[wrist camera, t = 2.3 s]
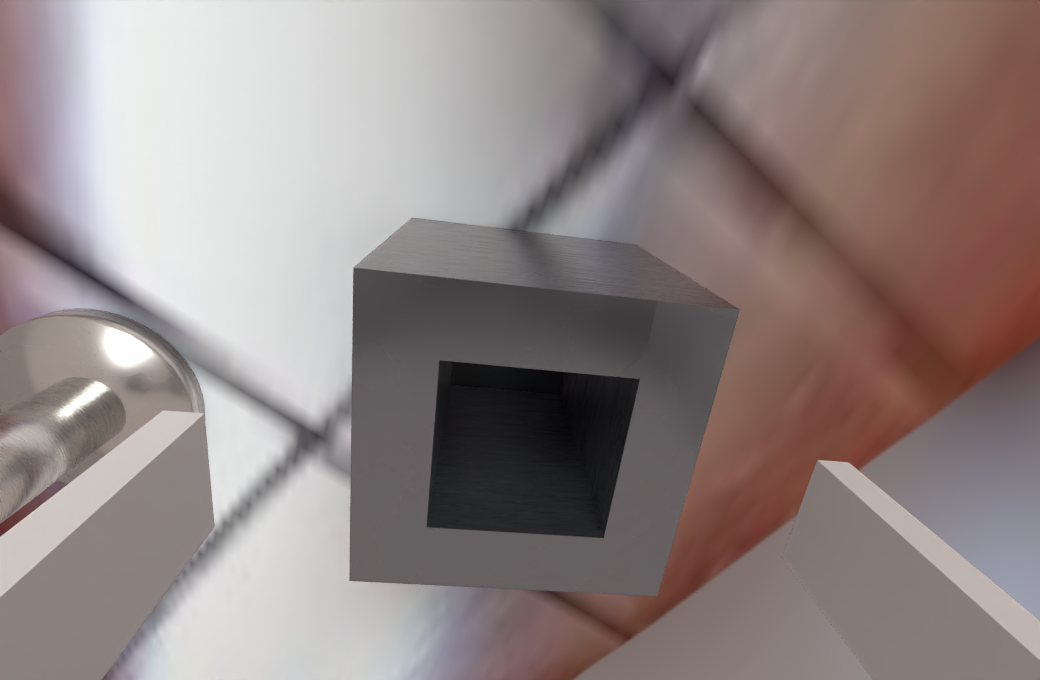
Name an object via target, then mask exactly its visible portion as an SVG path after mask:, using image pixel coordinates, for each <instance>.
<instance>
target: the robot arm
mask: <svg viewBox="0 0 1040 680" xmlns="http://www.w3.org/2000/svg"><path fill="white" fill-rule="evenodd" d="M214 527H215V526H214V515H213V504H212V493H211V482H210V471H209V460H208V449H207V437H206V426H205V415H204V413H192V412H179V411H166V410H163V411H162V412H161V413H159V414H158V415H157V416H155V417H154V418H153V419H152V420H150V421H149V422H148V423H146V424H145V425H144V426H143V427H141V428H140V429H139V430H137V431H136V432H135V433H134V434H132V435H131V436H130V437H128V438H127V439H126V440H125V441H123V442H122V443H121V444H119V445H118V446H117V447H115V448H114V449H113V450H112V451H110V452H109V453H108V454H106V455H105V456H104V457H103V458H101V459H100V460H99V461H97V462H96V463H95V464H94V465H92V466H91V467H90V468H88V469H87V470H86V471H85V472H83V473H82V474H81V475H79V476H78V477H77V478H76V479H74V480H73V481H72V482H70V483H69V484H68V485H67V486H65V487H64V488H63V489H61V490H60V491H59V492H58V493H56V494H55V495H54V496H52V497H51V498H50V499H49V500H47V501H46V502H45V503H43V504H42V505H41V506H39V507H38V508H37V509H36V510H34V511H33V512H32V513H30V514H29V515H28V516H27V517H25V518H24V519H23V520H21V521H20V522H19V523H18V524H16V525H15V526H14V527H12V528H11V529H10V530H9V531H7V532H6V533H5V534H3V535H2V536H1V537H0V680H102V678H103V677H104V676H105V674H106V673H107V672H108V670H109V669H110V667H111V666H112V665H113V663H114V662H115V661H116V659H117V658H118V657H119V655H120V654H121V653H122V651H123V650H124V649H125V647H126V646H127V644H128V643H129V642H130V640H131V639H132V638H133V636H134V635H135V634H136V632H137V631H138V630H139V628H140V627H141V626H142V624H143V623H144V621H145V620H146V619H147V617H148V616H149V615H150V613H151V612H152V611H153V609H154V608H155V607H156V605H157V604H158V603H159V601H160V600H161V598H162V597H163V596H164V594H165V593H166V592H167V590H168V589H169V588H170V586H171V585H172V584H173V582H174V581H175V579H176V578H177V577H178V575H179V574H180V573H181V571H182V570H183V569H184V567H185V566H186V565H187V563H188V562H189V561H190V559H191V558H192V556H193V555H194V554H195V552H196V551H197V550H198V548H199V547H200V546H201V544H202V543H203V542H204V540H205V539H206V538H207V536H208V535H209V533H210V532H211V531H212V529H213V528H214ZM782 558H783V560H784V561H785V563H786V564H787V565H788V567H789V568H790V569H791V571H792V572H793V573H794V575H795V576H796V577H797V579H798V580H799V581H800V583H801V584H802V585H803V587H804V588H805V589H806V591H807V592H808V593H809V595H810V596H811V597H812V599H813V600H814V601H815V603H816V604H817V605H818V607H819V608H820V609H821V610H822V612H823V613H824V615H825V616H826V617H827V619H828V620H829V621H830V623H831V624H832V625H833V627H834V628H835V629H836V631H837V632H838V633H839V635H840V636H841V637H842V639H843V640H844V641H845V643H846V644H847V645H848V647H849V648H850V649H851V651H852V652H853V653H854V655H855V656H856V657H857V659H858V660H859V661H860V663H861V664H862V665H863V667H864V668H865V669H866V671H867V672H868V673H869V675H870V676H871V678H872V679H873V680H1040V621H1039V620H1038V619H1037V618H1035V617H1034V616H1033V615H1032V614H1031V613H1030V612H1028V611H1027V610H1026V609H1025V608H1024V607H1022V606H1021V605H1020V604H1019V603H1018V602H1016V601H1015V600H1014V599H1013V598H1011V597H1010V596H1009V595H1008V594H1006V592H1004V591H1003V590H1002V589H1001V588H999V587H998V586H997V585H996V584H995V583H993V582H992V581H991V580H990V579H989V578H987V577H986V576H985V575H984V574H982V573H981V572H980V571H979V570H978V569H977V568H975V567H974V566H973V565H972V564H971V563H969V562H968V561H967V560H966V559H965V558H963V557H962V556H961V555H960V554H958V553H957V552H956V551H955V550H954V549H952V548H951V547H950V546H949V545H948V544H946V543H945V542H944V541H943V540H942V539H940V538H939V537H938V536H937V535H936V534H934V533H933V532H932V531H931V530H929V529H928V528H927V527H926V526H925V525H923V524H922V523H921V522H920V521H919V520H917V519H916V518H915V517H914V516H913V515H911V514H910V513H909V512H908V511H907V510H905V509H904V508H903V507H902V506H901V505H899V504H898V503H897V502H896V501H894V500H893V499H892V498H891V497H890V496H888V495H887V494H886V493H885V492H884V491H882V490H881V489H880V488H879V487H877V486H876V485H875V484H874V483H873V482H872V481H870V480H869V479H868V478H867V477H866V476H864V475H863V474H862V473H861V472H860V471H858V470H857V469H856V468H855V467H854V466H852V465H851V464H850V463H849V462H836V461H823V460H817V463H816V465H815V468H814V471H813V473H812V476H811V479H810V482H809V484H808V487H807V490H806V492H805V495H804V498H803V501H802V503H801V506H800V509H799V511H798V514H797V517H796V519H795V522H794V525H793V528H792V530H791V533H790V536H789V538H788V541H787V544H786V547H785V550H784V552H783V555H782Z"/></svg>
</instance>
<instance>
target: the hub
mask: <svg viewBox="0 0 1040 680" xmlns="http://www.w3.org/2000/svg"><path fill="white" fill-rule="evenodd" d="M163 410H166V411H179V412H192V413H204V401H203V396H202V392H201V389H200V386H199V383H198V381H197V379H196V377H195V375H194V373H193V371H192V370H191V368H190V367H189V365H188V364H187V362H186V361H185V360H184V358H183V357H182V356H181V355H180V354H179V352H178V351H177V350H176V349H175V348H174V347H173V346H172V345H170V344H169V343H168V342H167V341H166V340H165V339H163V338H162V337H161V336H159V335H158V334H157V333H155V332H154V331H152V330H150V329H149V328H147V327H146V326H144V325H142V324H140V323H138V322H136V321H134V320H131V319H129V318H126V317H124V316H121V315H118V314H114V313H110V312H106V311H101V310H94V309H67V310H61V311H56V312H52V313H49V314H46V315H44V316H41V317H38V318H35V319H33V320H30V321H27V322H24V323H22V324H19V325H16V326H14V327H13V328H11V329H9V330H7V331H6V332H4V333H3V334H2V335H0V523H2V522H3V521H4V520H6V519H7V518H8V517H10V516H11V515H12V514H14V513H15V512H16V511H18V510H19V509H20V508H22V507H23V506H24V505H25V504H27V503H28V502H29V501H31V500H32V499H33V498H35V497H36V496H37V495H39V494H40V493H41V492H43V491H44V490H45V489H47V488H48V487H49V486H51V485H52V484H53V483H54V482H56V481H57V480H59V481H61V482H63V483H67V484H69V483H70V482H72V481H73V480H74V479H76V478H77V477H78V476H79V475H81V474H82V473H83V472H85V471H86V470H87V469H88V468H90V467H91V466H92V465H94V464H95V463H96V462H97V461H99V460H100V459H101V458H103V457H104V456H105V455H106V454H108V453H109V452H110V451H112V450H113V449H114V448H115V447H117V446H118V445H119V444H121V443H122V442H123V441H125V440H126V439H127V438H128V437H130V436H131V435H132V434H134V433H135V432H136V431H137V430H139V429H140V428H141V427H143V426H144V425H145V424H146V423H148V422H149V421H150V420H152V419H153V418H154V417H155V416H157V415H158V414H159V413H161V412H162V411H163Z"/></svg>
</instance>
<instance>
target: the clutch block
mask: <svg viewBox="0 0 1040 680" xmlns="http://www.w3.org/2000/svg"><path fill="white" fill-rule="evenodd" d="M739 311H740V310H739V309H738V308H736V307H735V306H733V305H731V304H730V303H728V302H727V301H725V300H723V299H722V298H720V297H719V296H717V295H716V294H714V293H712V292H711V291H709V290H708V289H706V288H704V287H703V286H701V285H700V284H698V283H696V282H695V281H693V280H692V279H690V278H688V277H687V276H685V275H684V274H682V273H680V272H679V271H677V270H676V269H674V268H672V267H671V266H669V265H668V264H666V263H664V262H663V261H661V260H660V259H658V258H657V257H655V256H653V255H652V254H650V253H649V252H647V251H645V250H644V249H642V248H641V247H639V246H637V245H633V244H625V243H617V242H608V241H600V240H592V239H583V238H575V237H567V236H558V235H550V234H542V233H533V232H525V231H517V230H508V229H500V228H492V227H483V226H475V225H467V224H458V223H450V222H442V221H433V220H425V219H417V218H411V219H410V220H409V221H408V222H407V223H406V224H404V225H403V226H402V227H401V228H400V229H398V230H397V231H396V232H395V233H394V234H393V235H391V236H390V237H389V238H388V239H387V240H385V241H384V242H383V243H382V244H381V245H380V246H378V247H377V248H376V249H375V250H374V251H372V252H371V253H370V254H369V255H368V256H367V257H365V258H364V259H363V260H362V261H361V262H359V263H358V264H357V265H356V266H355V267H354V273H353V351H352V428H351V506H350V581H364V582H384V583H404V584H424V585H444V586H464V587H484V588H504V589H523V590H543V591H563V592H583V593H603V594H623V595H643V596H658V592H659V589H660V585H661V582H662V578H663V575H664V571H665V568H666V564H667V561H668V557H669V554H670V550H671V547H672V543H673V540H674V537H675V533H676V530H677V526H678V523H679V519H680V516H681V512H682V509H683V505H684V502H685V498H686V495H687V491H688V488H689V484H690V481H691V477H692V474H693V471H694V467H695V464H696V460H697V457H698V453H699V450H700V446H701V443H702V439H703V436H704V432H705V429H706V425H707V422H708V418H709V415H710V411H711V408H712V405H713V401H714V398H715V394H716V391H717V387H718V384H719V380H720V377H721V373H722V370H723V366H724V363H725V359H726V356H727V352H728V349H729V345H730V342H731V338H732V335H733V332H734V328H735V325H736V321H737V318H738V314H739ZM452 362H463V363H474V364H485V365H495V366H506V367H517V368H527V369H538V370H549V371H560V372H565V374H564V380H563V386H562V391H561V394H552V393H540V392H529V391H518V390H507V389H495V388H484V387H473V386H462V385H450V383H451V372H452Z"/></svg>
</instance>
